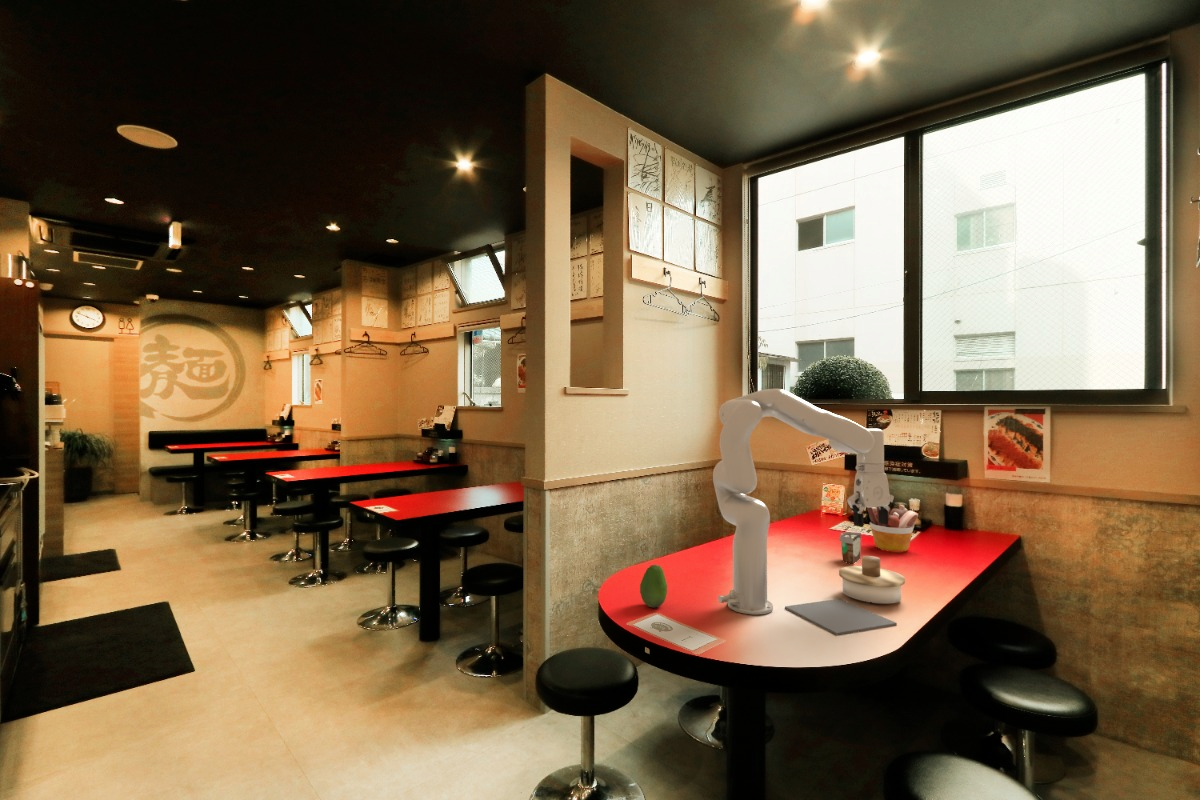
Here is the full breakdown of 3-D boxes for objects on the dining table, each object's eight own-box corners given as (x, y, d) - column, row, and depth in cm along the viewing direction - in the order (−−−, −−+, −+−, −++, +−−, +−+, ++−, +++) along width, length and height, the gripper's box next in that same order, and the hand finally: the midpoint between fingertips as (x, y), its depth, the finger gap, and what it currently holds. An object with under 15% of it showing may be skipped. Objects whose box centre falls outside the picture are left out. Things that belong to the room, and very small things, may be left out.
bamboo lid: (872, 590, 155) (871, 568, 155) (826, 572, 172) (825, 553, 172) (919, 583, 161) (919, 563, 161) (870, 567, 178) (870, 548, 178)
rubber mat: (836, 635, 138) (836, 632, 138) (784, 608, 157) (784, 606, 157) (896, 625, 145) (896, 622, 145) (840, 600, 164) (840, 598, 164)
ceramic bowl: (872, 609, 156) (871, 588, 156) (831, 592, 171) (830, 572, 171) (914, 603, 162) (913, 582, 162) (870, 586, 177) (870, 568, 177)
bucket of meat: (886, 542, 237) (886, 496, 238) (925, 550, 223) (924, 501, 224) (857, 548, 227) (857, 500, 228) (896, 557, 213) (895, 506, 214)
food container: (844, 556, 214) (844, 530, 215) (861, 558, 211) (861, 532, 211) (835, 562, 205) (834, 536, 205) (852, 565, 201) (852, 538, 201)
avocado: (672, 606, 158) (672, 564, 159) (655, 613, 153) (655, 570, 153) (651, 599, 164) (651, 559, 164) (634, 606, 158) (634, 564, 159)
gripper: (857, 471, 161) (858, 529, 160) (902, 468, 167) (903, 525, 166) (838, 468, 168) (839, 524, 168) (882, 466, 174) (882, 520, 173)
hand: (871, 524), depth 167 cm, fingers open, 9 cm apart
